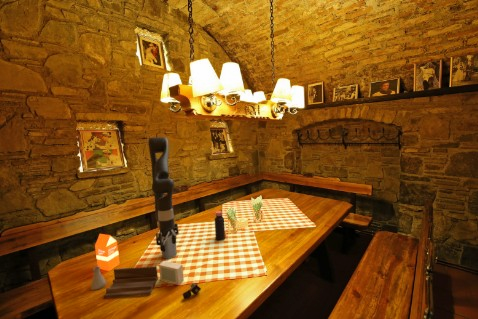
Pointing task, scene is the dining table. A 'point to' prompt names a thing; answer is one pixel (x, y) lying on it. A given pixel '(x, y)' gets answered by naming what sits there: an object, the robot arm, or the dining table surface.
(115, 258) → the orange juice
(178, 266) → the white rectangular block
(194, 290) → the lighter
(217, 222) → the bottle
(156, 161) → the robot arm
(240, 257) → the dining table surface
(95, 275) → the flask
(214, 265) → the dining table surface
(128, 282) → the picture ledge
